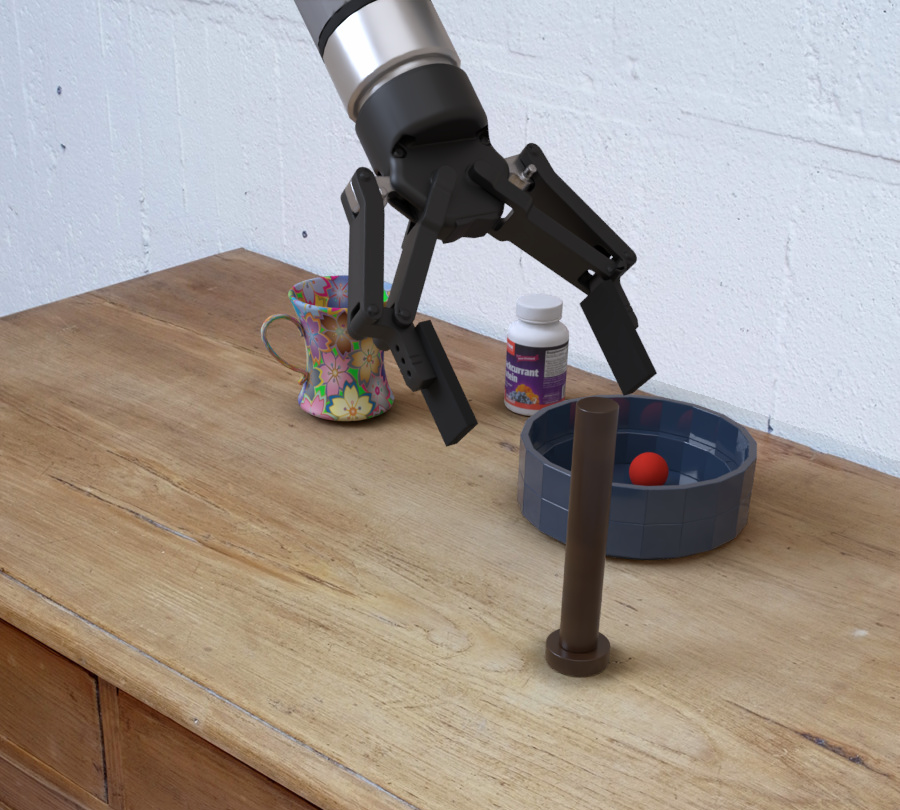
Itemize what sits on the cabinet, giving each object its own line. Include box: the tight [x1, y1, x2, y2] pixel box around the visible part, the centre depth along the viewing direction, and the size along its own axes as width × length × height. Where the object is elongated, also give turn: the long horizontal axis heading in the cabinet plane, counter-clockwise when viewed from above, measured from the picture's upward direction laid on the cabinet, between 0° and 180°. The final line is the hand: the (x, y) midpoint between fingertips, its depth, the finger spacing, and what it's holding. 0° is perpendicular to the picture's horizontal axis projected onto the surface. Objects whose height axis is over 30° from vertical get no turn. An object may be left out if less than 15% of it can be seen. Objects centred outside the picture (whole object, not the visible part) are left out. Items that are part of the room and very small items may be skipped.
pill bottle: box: [503, 292, 570, 417], centre depth 115 cm, size 5×5×10 cm
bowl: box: [516, 393, 758, 561], centre depth 98 cm, size 17×17×6 cm
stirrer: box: [544, 396, 619, 678], centre depth 78 cm, size 4×4×17 cm
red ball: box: [629, 452, 669, 486], centre depth 101 cm, size 3×3×3 cm
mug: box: [260, 274, 396, 422], centre depth 113 cm, size 12×9×11 cm
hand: (555, 409), depth 77 cm, fingers open, 13 cm apart
